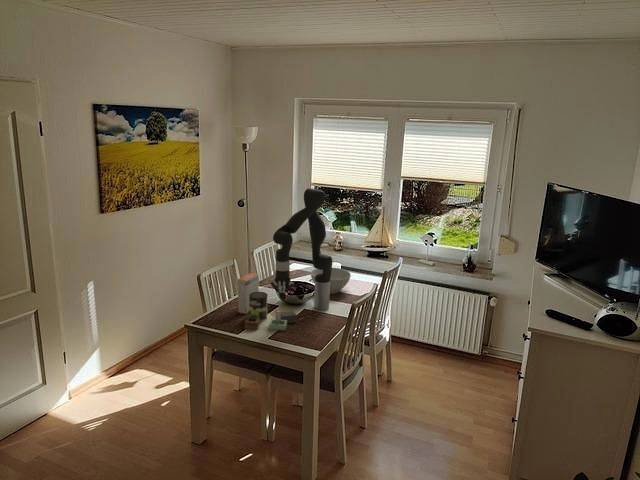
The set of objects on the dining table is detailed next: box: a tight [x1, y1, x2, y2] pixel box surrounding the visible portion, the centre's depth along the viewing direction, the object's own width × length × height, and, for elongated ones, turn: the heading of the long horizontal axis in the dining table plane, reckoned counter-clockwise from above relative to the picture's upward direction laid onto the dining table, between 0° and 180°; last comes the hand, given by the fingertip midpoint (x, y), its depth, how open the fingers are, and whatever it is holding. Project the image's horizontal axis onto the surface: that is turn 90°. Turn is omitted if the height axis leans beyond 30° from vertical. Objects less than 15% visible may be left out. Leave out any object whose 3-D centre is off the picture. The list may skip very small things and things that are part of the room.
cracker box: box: [237, 272, 260, 315], centre depth 273 cm, size 14×6×21 cm, turn 155°
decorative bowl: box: [310, 267, 351, 295], centre depth 311 cm, size 27×27×12 cm
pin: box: [275, 309, 282, 324], centre depth 252 cm, size 3×3×9 cm
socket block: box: [244, 316, 261, 331], centre depth 253 cm, size 7×7×4 cm
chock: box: [281, 310, 297, 324], centre depth 262 cm, size 6×8×4 cm
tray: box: [268, 318, 288, 331], centre depth 253 cm, size 7×9×3 cm
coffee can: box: [248, 291, 269, 322], centre depth 263 cm, size 10×10×14 cm
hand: (282, 298), depth 251 cm, fingers closed
